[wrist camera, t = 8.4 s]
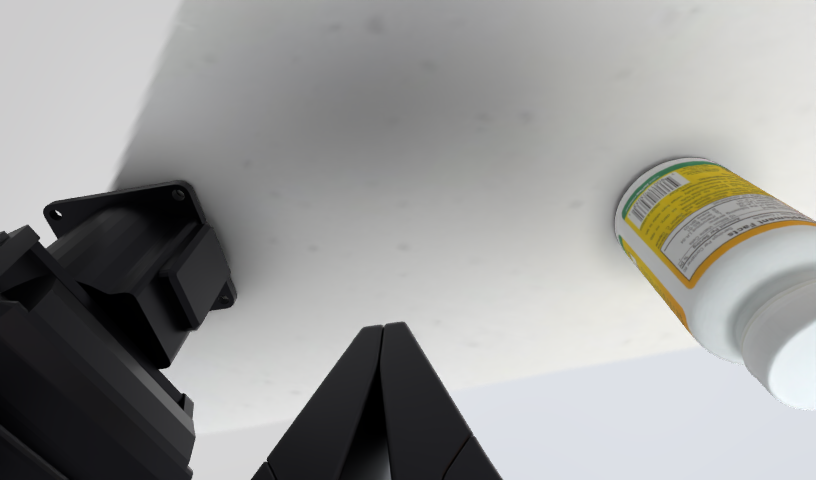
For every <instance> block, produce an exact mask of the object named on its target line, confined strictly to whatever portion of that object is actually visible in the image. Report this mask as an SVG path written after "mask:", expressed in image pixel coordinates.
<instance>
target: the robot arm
mask: <svg viewBox="0 0 816 480" xmlns="http://www.w3.org/2000/svg"><path fill="white" fill-rule="evenodd" d="M176 190H180V191H182V192H183V193H184V196H185V197H181V196H179V195H178V194H177V193H176ZM55 210H56V211H58V212H60V213H61V215H62V216H59V215H58V214H57V213H56V211H55ZM43 214H44V216H45V218H46V220H47V222H48V224H49V225H50V227H51V229H52V230H53V232H54V233H55V235H56V237H57V239H58V240H57V241H55V242H54V243H52V244H51V245H50V246H49V247H47V248H46V249H45V248H44V247H43V246H42V244H41V243H40V242H39V241H38V240H39V239H40V237H39V236H38V235H37V234H36V233H35V232H34V230H33V229H32V228H31V227H30V226H29V225H26V226H23V227H21V228H19V229H17V230H15V231H13V232H10V233H8V234H7V233H6V232H5V231H3V232H0V480H191V479H192V475H193V471H192V469H191V468H190V467H189V466H188V464H189V461H190V457H191V454H192V449H193V446H194V442H195V438H196V437H195V431H194V424H193V420H192V417H193V407H194V403H193V402H192V400H191V399H190V398H189V397H188V396H187V395H186V394H184V393H183V394H181V393H180V392H179V391H178V390H177V389H176V388H175V387H174V386H173V385H172V383H171V382H170V381H169V380H168V379H167V378H166V377H165V376H164V375H163V374H162V373H161V372H160V371H159V370H158V369H164V368H168V367H169V366H170V365H171V363H172V362H173V360H174V358H175V356H176V355H177V353H178V351H179V350H180V348H181V346H182V345H183V343H184V341H185V339H186V338H187V336H188V334H189V333H190V331H196V330H198V329H199V327H200V326H201V324H202V322H203V321H204V319H205V317H206V315H207V313H208V312H209V311H212V310H219V309H226V308H229V307H231V306H233V304H234V302H235V300H236V298H237V295H236V292H235V289H234V287H233V285H232V282H231V280H230V277H229V275H230V269H229V266H228V264H227V261H226V259H225V257H224V254H223V252H222V249H221V247H220V244H219V242H218V239H217V237H216V235H215V232H214V230H213V228H212V227H211V226H210V225H209V224H207V222H206V219H205V217H204V214H203V212H202V210H201V207H200V205H199V202H198V200H197V198H196V195H195V193H194V190H193V189H192V187H191V186H190V185H189V184H188V183H186V182H184V181H173V182H167V183H161V184H155V185H149V186H143V187H137V188H131V189H125V190H119V191H113V192H107V193H101V194H95V195H89V196H84V197H77V198H71V199H65V200H59V201H54V202H52V203H50V204H49V205H47V206H46V207H45V208H44V210H43ZM222 296H226V297H228V299H224V298H222ZM251 480H503V479H502V478H501V476H500V475H499V473H498V472H497V470H496V469H495V467H494V466H493V464H492V463H491V461H490V460H489V458H488V457H487V455H486V453H485V452H484V450H483V449H482V447H481V445H480V444H479V442H478V441H477V439H476V437H475V436H473V433H472V431H471V429H470V428H469V426H468V424H467V423H466V421H465V419H464V418H463V416H462V415H461V413H460V411H459V410H458V408H457V406H456V405H455V403H454V401H453V400H452V398H451V396H450V395H449V393H448V392H447V390H446V388H445V387H444V385H443V383H442V382H441V380H440V378H439V377H438V375H437V373H436V372H435V370H434V369H433V367H432V365H431V364H430V362H429V360H428V359H427V357H426V355H425V354H424V352H423V350H422V349H421V347H420V345H419V344H418V342H417V341H416V339H415V337H414V336H413V334H412V332H411V331H410V329H409V327H408V326H407V324H406V323H405V322H395V323H388V324H386V325H385V326H383V325H374V326H367V327H363V328H362V329H361V330H360V332H359V333H358V334H357V336H356V337H355V338H354V340H353V341H352V343H351V344H350V345H349V347H348V348H347V349H346V351H345V352H344V353H343V355H342V356H341V358H340V359H339V360H338V362H337V363H336V364H335V366H334V367H333V369H332V370H331V371H330V373H329V374H328V375H327V377H326V378H325V379H324V381H323V382H322V384H321V385H320V386H319V388H318V389H317V390H316V392H315V393H314V394H313V396H312V397H311V399H310V400H309V401H308V403H307V404H306V405H305V407H304V408H303V410H302V411H301V412H300V414H299V415H298V416H297V418H296V419H295V420H294V422H293V423H292V425H291V426H290V427H289V429H288V430H287V432H286V433H285V434H284V436H283V437H282V438H281V440H280V441H279V442H278V444H277V445H276V446H275V448H274V449H273V451H272V452H271V453H270V455H269V456H268V457H267V462H264V463H263V464H262V465H261V467H260V468H259V469H258V471H257V472H256V474H255V475H254V476H253V478H252V479H251Z"/></svg>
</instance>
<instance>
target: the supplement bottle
mask: <svg viewBox="0 0 816 480" xmlns="http://www.w3.org/2000/svg"><path fill="white" fill-rule="evenodd" d="M615 232H616V237H617V240H618V242H619V244H620V245H621V247H622V249H623V250H624V251H625V253H626V254H627V255H628V257H629V258H630V259H631V260H632V261H633V263H634V264H635V265H636V266H637V268H638V269H639V270H640V271H641V272H642V274H643V275H644V276H645V277H646V279H647V280H648V281H649V282H650V284H651V285H652V286H653V287H654V289H655V290H656V291H657V292H658V293H659V295H660V296H661V297H662V298H663V300H664V301H665V302H666V303H667V305H668V306H669V307H670V309H671V310H672V311H673V312H674V314H675V315H676V316H677V317H678V319H679V320H680V321H681V322H682V324H683V325H684V326H685V328H686V329H687V330H688V331H689V332H690V333H691V335H692V336H693V337H694V338H695V339H696V341H697V342H698V343H699V344H700V345H701V346H702V347H703V348H705V349H706V350H707V351H708V352H710V353H712V354H713V355H715V356H717V357H719V358H721V359H723V360H725V361H728V362H731V363H735V364H739V365H745V366H746V368H747V369H748V371H749V372H750V373H751V374H752V375H753V376H754V377H755V378H757V380H758V381H759V382H760V383H761V384H762V385H763V386H764V387H765V388H766V389H767V391H768V392H769V393H770V394H771V395H772V396H773V397H774V398H776V399H777V400H778V401H780V402H781V403H783V404H785V405H787V406H790V407H793V408H797V409H803V410H816V222H815V221H814V220H812V219H811V218H809V217H807V216H805V215H804V214H802V213H800V212H798V211H797V210H795V209H793V208H792V207H790V206H789V205H787V204H785V203H783V202H782V201H780V200H778V199H777V198H775V197H773V196H772V195H770V194H768V193H767V192H765V191H763V190H761V189H760V188H758V187H756V186H755V185H753V184H751V183H750V182H748V181H746V180H744V179H743V178H741V177H740V176H738V175H736V174H735V173H733V172H731V171H730V170H728V169H726V168H725V167H722V166H721V165H719V164H717V163H715V162H713V161H710V160H706V159H702V158H682V159H676V160H672V161H668V162H665V163H662V164H660V165H658V166H656V167H654V168H652V169H651V170H649V171H647V172H646V173H644V174H643V175H642V176H641V177H639V178H638V179H637V180H636V181H635V182H634V183H633V184H632V185H631V186H630V187H629V189H628V190H627V191H626V193H625V194H624V196H623V197H622V199H621V201H620V203H619V206H618V208H617V212H616V216H615Z"/></svg>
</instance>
